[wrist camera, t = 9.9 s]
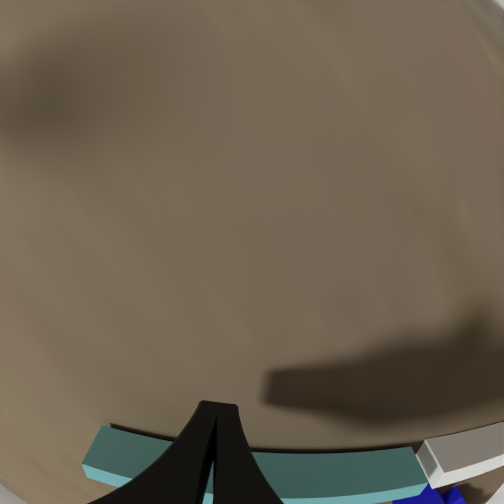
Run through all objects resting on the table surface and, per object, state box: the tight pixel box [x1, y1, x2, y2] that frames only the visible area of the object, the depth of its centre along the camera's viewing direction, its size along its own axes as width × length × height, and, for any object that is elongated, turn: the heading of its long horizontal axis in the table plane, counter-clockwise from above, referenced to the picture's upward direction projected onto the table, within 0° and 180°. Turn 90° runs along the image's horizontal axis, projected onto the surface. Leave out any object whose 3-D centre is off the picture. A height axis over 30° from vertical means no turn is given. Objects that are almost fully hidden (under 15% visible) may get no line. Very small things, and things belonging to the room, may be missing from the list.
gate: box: [82, 425, 429, 504], centre depth 13 cm, size 17×1×3 cm, turn 83°
